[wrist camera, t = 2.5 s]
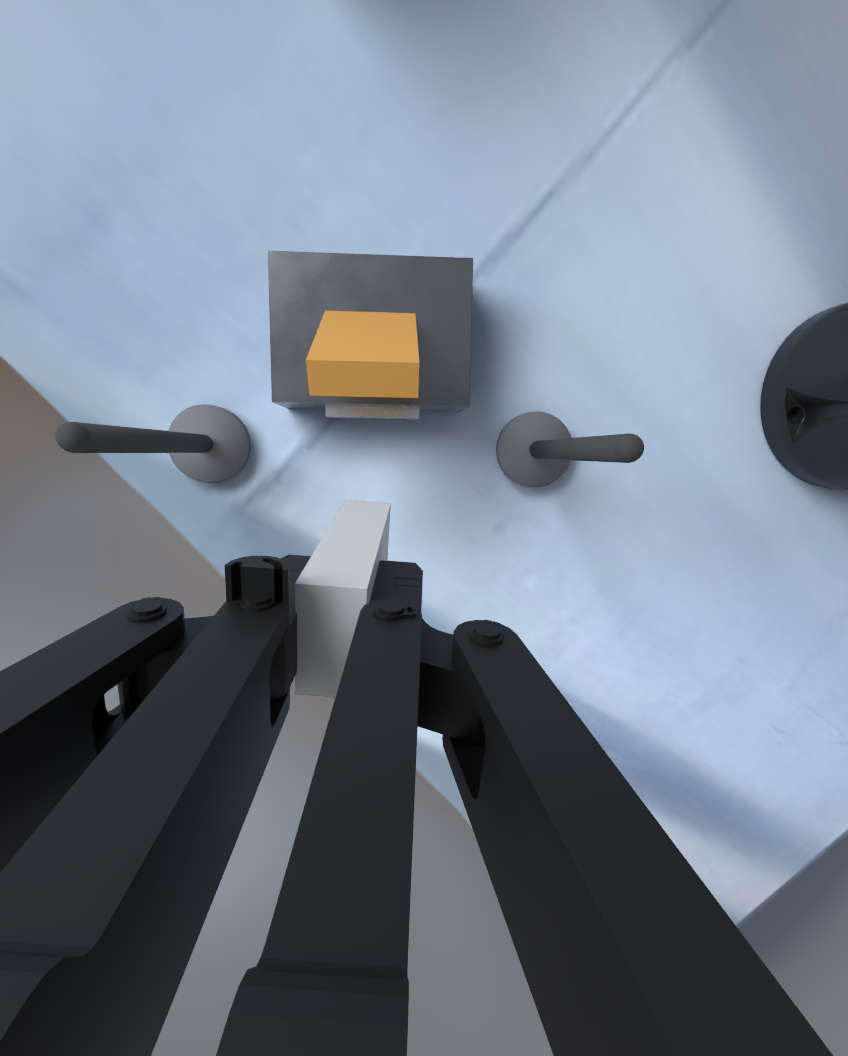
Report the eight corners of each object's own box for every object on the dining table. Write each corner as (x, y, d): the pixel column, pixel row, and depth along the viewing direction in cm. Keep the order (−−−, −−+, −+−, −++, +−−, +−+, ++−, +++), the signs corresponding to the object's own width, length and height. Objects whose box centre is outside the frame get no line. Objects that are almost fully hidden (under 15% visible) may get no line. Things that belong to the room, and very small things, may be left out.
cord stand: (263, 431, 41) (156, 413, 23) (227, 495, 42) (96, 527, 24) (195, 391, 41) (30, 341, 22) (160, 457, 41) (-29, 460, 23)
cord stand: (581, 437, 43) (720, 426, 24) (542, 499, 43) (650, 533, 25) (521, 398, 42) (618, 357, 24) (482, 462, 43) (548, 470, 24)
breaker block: (460, 421, 42) (468, 417, 37) (287, 418, 41) (272, 413, 36) (463, 282, 41) (473, 258, 36) (283, 275, 40) (267, 250, 35)
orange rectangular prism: (417, 340, 36) (421, 398, 29) (325, 337, 36) (305, 395, 28) (418, 310, 35) (423, 362, 27) (323, 307, 35) (302, 359, 27)
